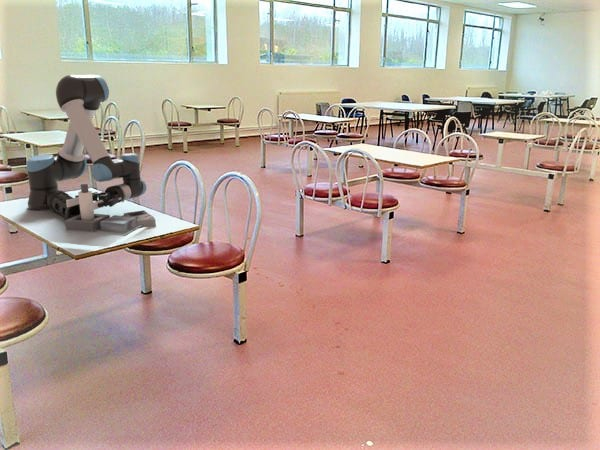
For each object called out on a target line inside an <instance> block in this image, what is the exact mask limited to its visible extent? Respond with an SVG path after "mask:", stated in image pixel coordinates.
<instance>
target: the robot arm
mask: <svg viewBox="0 0 600 450" xmlns="http://www.w3.org/2000/svg"><path fill="white" fill-rule="evenodd" d="M109 95H110V89H109V86H108V84H107V81H106V80H105V78H103V77H102V76H100V75H99V74H97V75H96V74H69V75H65V76H64V77H62V78H61V79H60V80H59V81H58V83H57V85H56V88H55V97H56V101H57V104H58V106H59V108H60V110H61V112H64V113H65V114H66V117H68V119H69V123H68V126H67V130H66V133H65V138H64V142H63V145H62V147H60V148H58V151H57V154H56V156H54V155H53V154H50V153H45V154H39V155H34V156H32V157H29V158H28V159H27V160H26V171H27V177H28V184H29V195H28V201H27V208H28V209H29V210H31V211H32V210H34V211H48V210H51V209H50V208H49V207H48V205H47V197H48V196H49V194H51V193H52V192H54V191H60V190H59V186H58V183H59V182H62V181H67V180H75V179H78V178H80V177H82V176H83V175H85V173H86V172H87V169H88V163H87V159H86V157H85V154H84V153H83V152H84V150H85V151H86V153H87V155H88V157H89V159H90V161H91V163H92V164H93V166H91V171H90V172H91V173H92V174H91V176H92V178H93V179H94V180H95V181H97V182H99V183H102V182H110V181H113V180H117V179H122V182H121V183H118V184H114V185H111V186H108V187H106V189H105V191H101V192H97V191H94V192H92V198H93V203H90V210H91V211H92V210H94V211H96V210H98V209H100V208H101V209H102V208H104V207H105V208H106V207H109V208H112V207H114V206H115V205H117V204H118V203H124V202H125V201H128V200H130V199H134V198H138V197H140V196H142V195H144V194H145V193H146V191H147V184H146V181H144V180H143V179H142V177H141V170H140V167H141V166H140V164H141V163H140V157H139V154H137V153H135V152H130V153H129V152H128V153H123V154H121V155H120V159H118V160H113V158H112V157H111V156H110V154H109V152H108V150H107V148H106V146H105V144H104V142H103V140H102V138H101V137H100V135H99V133H98V131H97V129H96V128H95V126H94V124H93V122H92V121H93V117H94V114H95V112H96V111H98V110H99V109H100V106H101V103H104V102H106V101H108V99H109ZM66 204H67V207H71V206H74V205H79V196H78V194H77V195H74V197H73V199H69V200H66Z"/></svg>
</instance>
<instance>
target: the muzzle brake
mask: <svg viewBox="0 0 600 450" xmlns="http://www.w3.org/2000/svg"><path fill="white" fill-rule="evenodd" d="M73 198H74V197H73V196H71V195H69V194H68V193H67V192H65V191H63V190H59V191H54V192H52V193H51V194H49V196H48V197H47V205H48V207H49V208H50V209H49V210H51V211H53V212H55V213H58V214H59V215H60V216H61V217H64V218H65V220H68V219H70V218H71V215H74V217H75V216H77V215H79V214H80V205H74V206H71V207H67V204H66V200H69V199H73ZM70 214H71V215H70Z"/></svg>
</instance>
